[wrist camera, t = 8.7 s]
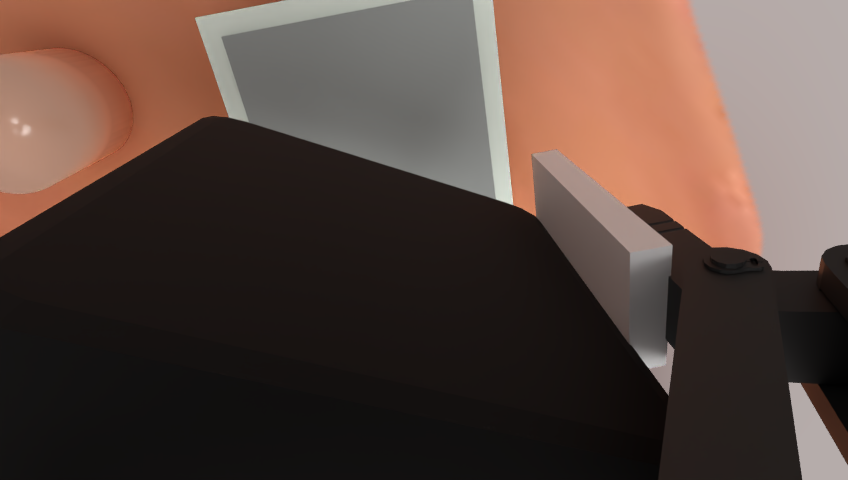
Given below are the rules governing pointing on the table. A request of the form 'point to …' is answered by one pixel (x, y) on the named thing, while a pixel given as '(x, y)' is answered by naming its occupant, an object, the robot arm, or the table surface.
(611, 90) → the table surface
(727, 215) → the table surface
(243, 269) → the electronic device
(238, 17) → the stand
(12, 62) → the pale pink rounded piece
